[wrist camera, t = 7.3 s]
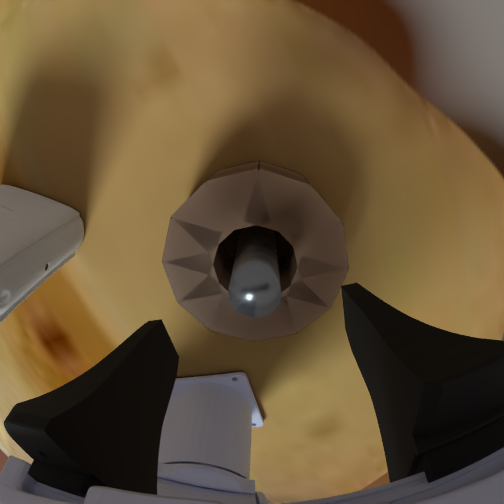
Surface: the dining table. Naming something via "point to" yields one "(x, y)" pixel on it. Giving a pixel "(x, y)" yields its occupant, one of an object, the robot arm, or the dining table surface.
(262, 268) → the dark grey capsule
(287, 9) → the dining table surface
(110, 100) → the dining table surface
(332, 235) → the bead
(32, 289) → the white upright block
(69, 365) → the dining table surface
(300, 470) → the dining table surface
